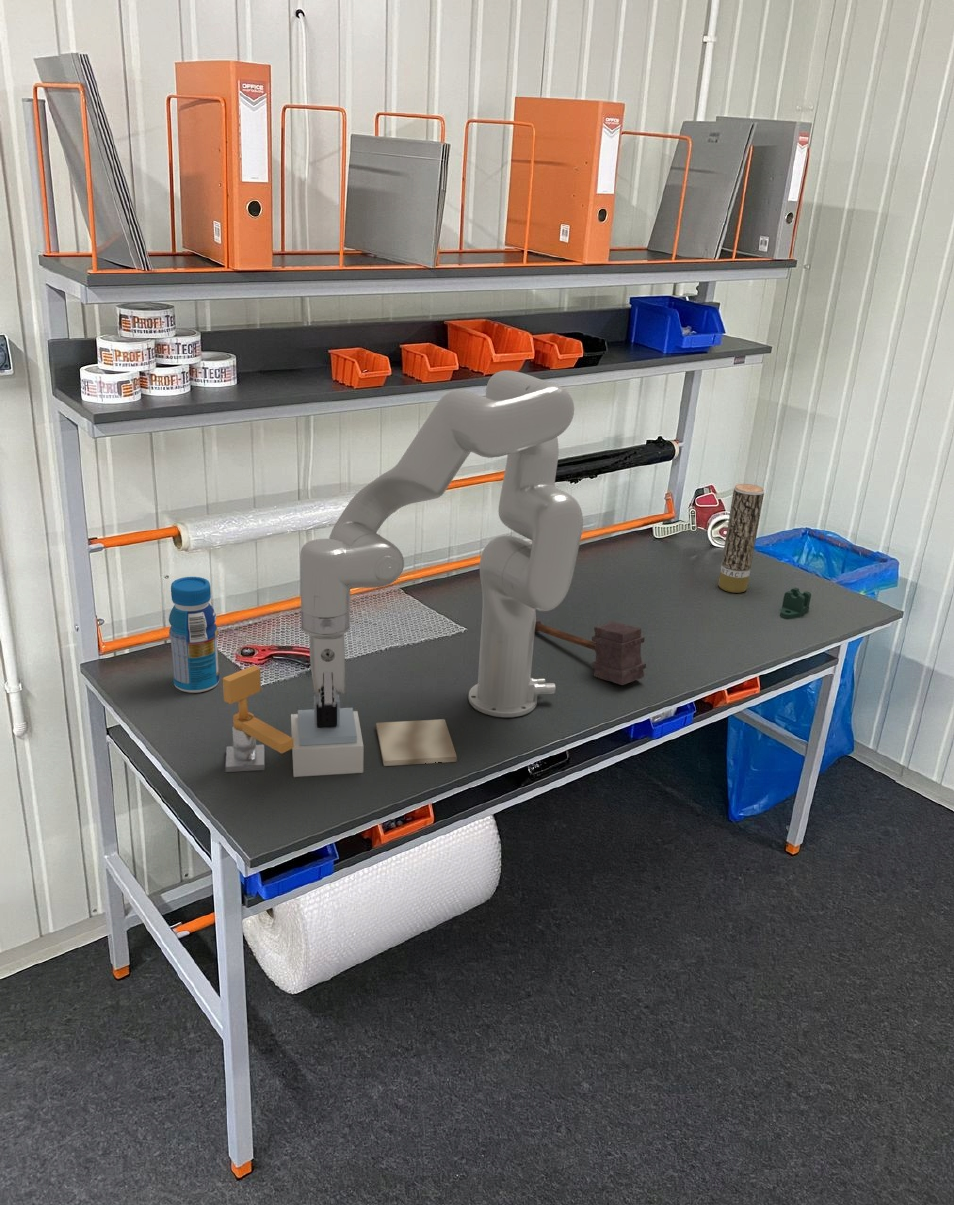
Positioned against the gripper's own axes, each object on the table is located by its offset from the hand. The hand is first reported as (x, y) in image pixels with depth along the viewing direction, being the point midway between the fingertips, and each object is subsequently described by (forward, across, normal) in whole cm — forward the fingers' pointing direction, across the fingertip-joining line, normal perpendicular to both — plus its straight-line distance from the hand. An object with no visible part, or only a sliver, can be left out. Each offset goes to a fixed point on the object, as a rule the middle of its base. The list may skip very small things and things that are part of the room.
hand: (326, 720), depth 164 cm
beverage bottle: (+7, +27, +22) cm, 35 cm away
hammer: (+7, +32, -52) cm, 61 cm away
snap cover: (+2, 0, 0) cm, 2 cm away
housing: (+7, 0, 0) cm, 7 cm away
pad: (+7, +2, -15) cm, 17 cm away
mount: (+7, +49, -109) cm, 120 cm away
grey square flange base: (+7, 0, +13) cm, 15 cm away
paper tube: (+7, +63, -100) cm, 118 cm away
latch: (0, -3, +10) cm, 11 cm away
